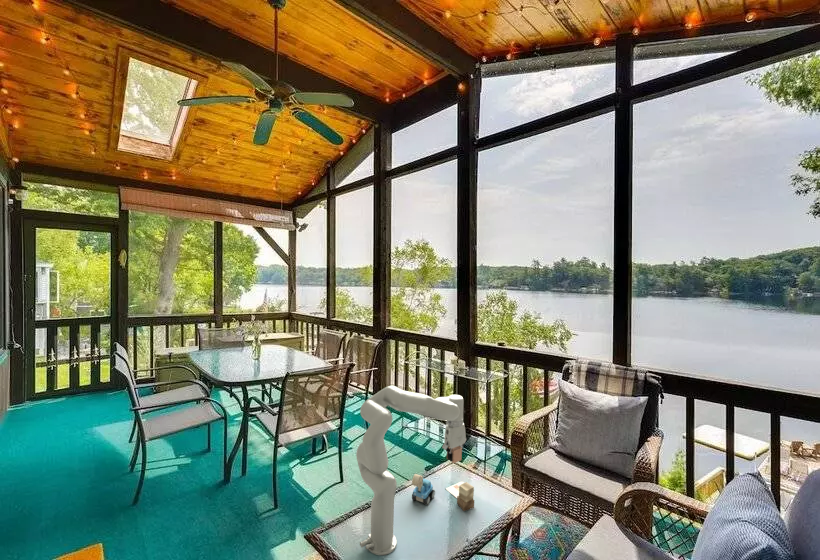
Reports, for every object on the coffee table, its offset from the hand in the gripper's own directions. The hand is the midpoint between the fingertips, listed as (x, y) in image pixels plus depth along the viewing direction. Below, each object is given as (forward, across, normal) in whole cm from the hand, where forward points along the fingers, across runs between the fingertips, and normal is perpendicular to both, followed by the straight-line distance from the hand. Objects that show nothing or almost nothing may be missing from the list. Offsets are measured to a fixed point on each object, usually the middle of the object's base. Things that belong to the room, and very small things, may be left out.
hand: (454, 457), depth 182 cm
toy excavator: (+25, -11, +12) cm, 30 cm away
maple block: (+22, +6, -2) cm, 23 cm away
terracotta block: (+1, 0, 0) cm, 1 cm away
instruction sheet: (+25, +12, +8) cm, 29 cm away
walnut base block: (+26, +6, -2) cm, 26 cm away
